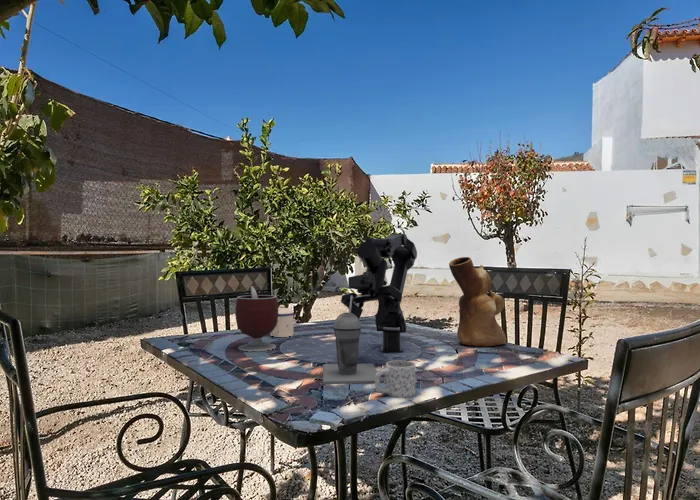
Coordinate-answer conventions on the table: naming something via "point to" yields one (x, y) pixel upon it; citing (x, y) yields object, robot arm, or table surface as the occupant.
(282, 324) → the teacup with lid
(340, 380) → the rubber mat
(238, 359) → the table surface
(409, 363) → the mug
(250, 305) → the mate gourd
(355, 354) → the beverage cup
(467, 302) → the ceramic vessel
